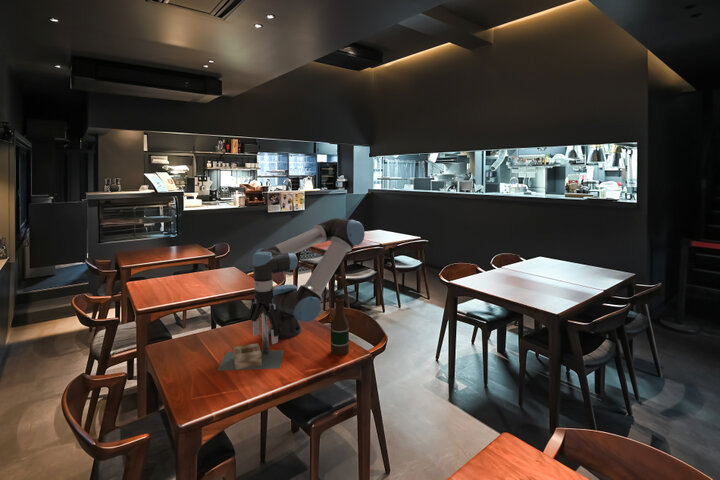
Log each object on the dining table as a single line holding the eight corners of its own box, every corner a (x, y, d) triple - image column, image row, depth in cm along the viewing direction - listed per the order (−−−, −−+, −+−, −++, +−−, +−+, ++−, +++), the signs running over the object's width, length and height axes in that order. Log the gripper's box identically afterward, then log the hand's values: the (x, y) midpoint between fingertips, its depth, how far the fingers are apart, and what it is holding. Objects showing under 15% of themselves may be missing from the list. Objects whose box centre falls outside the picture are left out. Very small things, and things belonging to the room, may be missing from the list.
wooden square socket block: (258, 354, 166) (258, 343, 165) (261, 365, 156) (261, 353, 156) (233, 358, 162) (233, 346, 161) (235, 369, 153) (234, 357, 152)
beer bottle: (340, 346, 175) (340, 294, 170) (352, 352, 169) (352, 298, 165) (327, 352, 169) (326, 298, 165) (339, 358, 164) (338, 302, 160)
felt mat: (284, 350, 170) (284, 350, 170) (279, 369, 154) (279, 368, 154) (227, 352, 168) (226, 351, 168) (216, 371, 152) (216, 370, 152)
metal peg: (268, 351, 168) (267, 311, 165) (269, 354, 166) (268, 313, 163) (262, 352, 167) (260, 312, 164) (263, 355, 165) (261, 314, 162)
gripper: (238, 286, 166) (240, 334, 170) (275, 297, 152) (276, 350, 155) (253, 282, 172) (255, 329, 176) (290, 293, 157) (291, 344, 161)
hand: (265, 339), depth 166 cm, fingers open, 12 cm apart
